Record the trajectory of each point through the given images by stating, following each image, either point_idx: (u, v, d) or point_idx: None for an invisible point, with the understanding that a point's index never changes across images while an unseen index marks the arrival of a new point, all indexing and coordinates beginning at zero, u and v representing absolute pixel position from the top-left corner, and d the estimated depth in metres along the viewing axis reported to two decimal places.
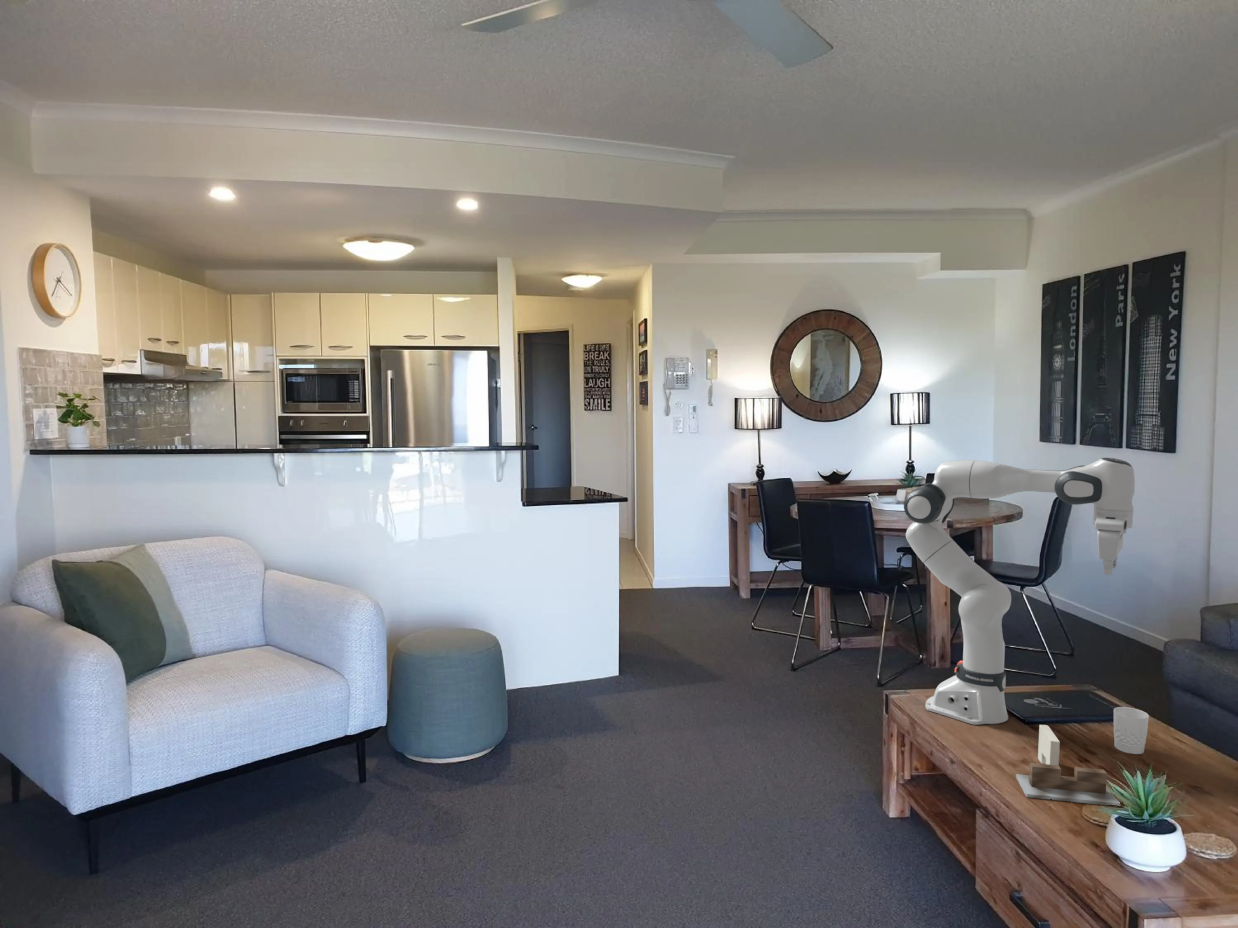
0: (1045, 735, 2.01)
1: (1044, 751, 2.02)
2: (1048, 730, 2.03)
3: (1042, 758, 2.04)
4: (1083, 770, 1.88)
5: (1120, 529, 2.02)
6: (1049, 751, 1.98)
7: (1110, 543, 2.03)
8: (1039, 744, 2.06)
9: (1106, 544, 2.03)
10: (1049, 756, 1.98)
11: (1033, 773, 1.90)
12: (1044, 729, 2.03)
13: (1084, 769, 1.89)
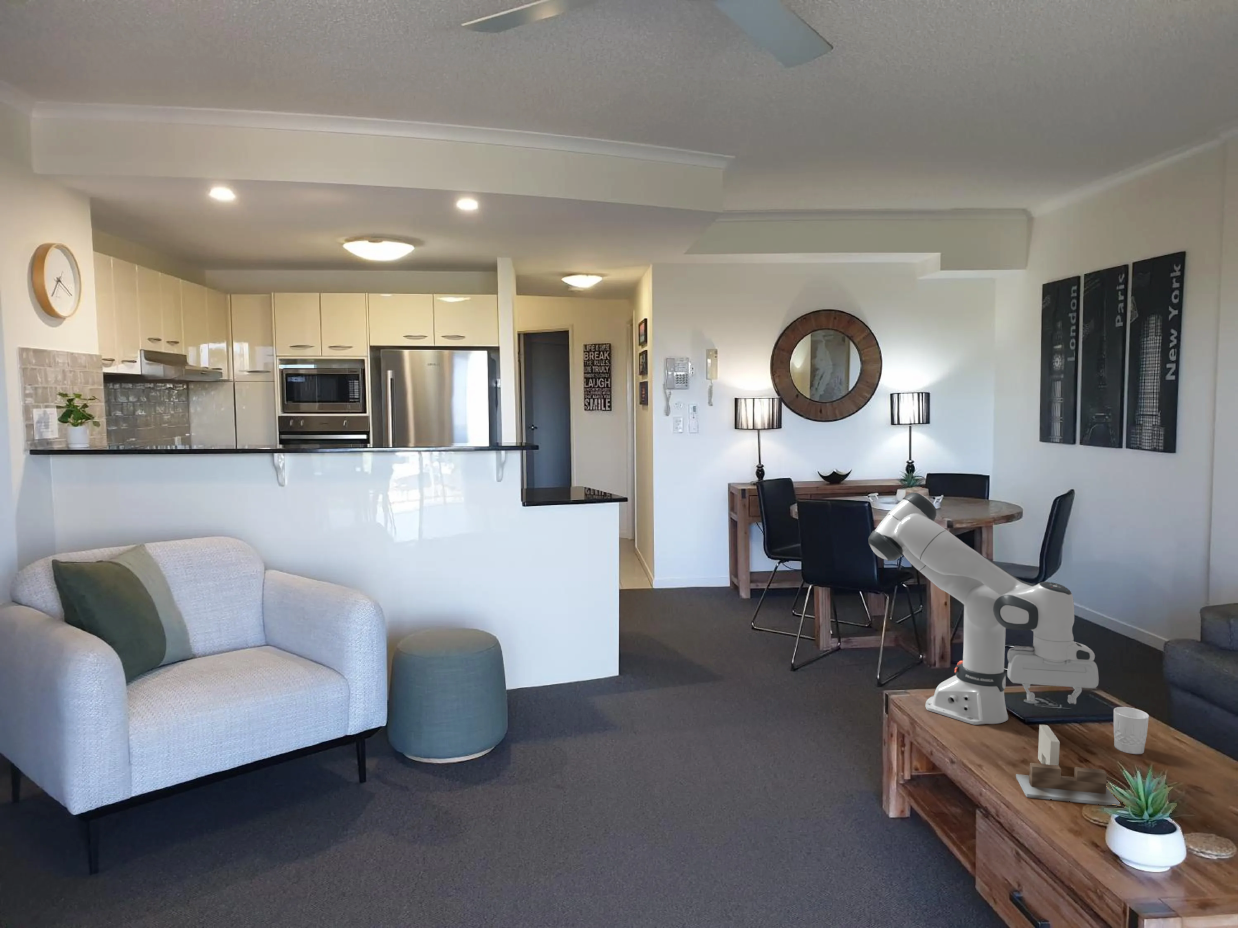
0: (1045, 735, 2.01)
1: (1044, 751, 2.02)
2: (1048, 730, 2.03)
3: (1042, 758, 2.04)
4: (1083, 770, 1.88)
5: None
6: (1049, 751, 1.98)
7: None
8: (1039, 744, 2.06)
9: None
10: (1049, 756, 1.98)
11: (1033, 773, 1.90)
12: (1044, 729, 2.03)
13: (1084, 769, 1.89)
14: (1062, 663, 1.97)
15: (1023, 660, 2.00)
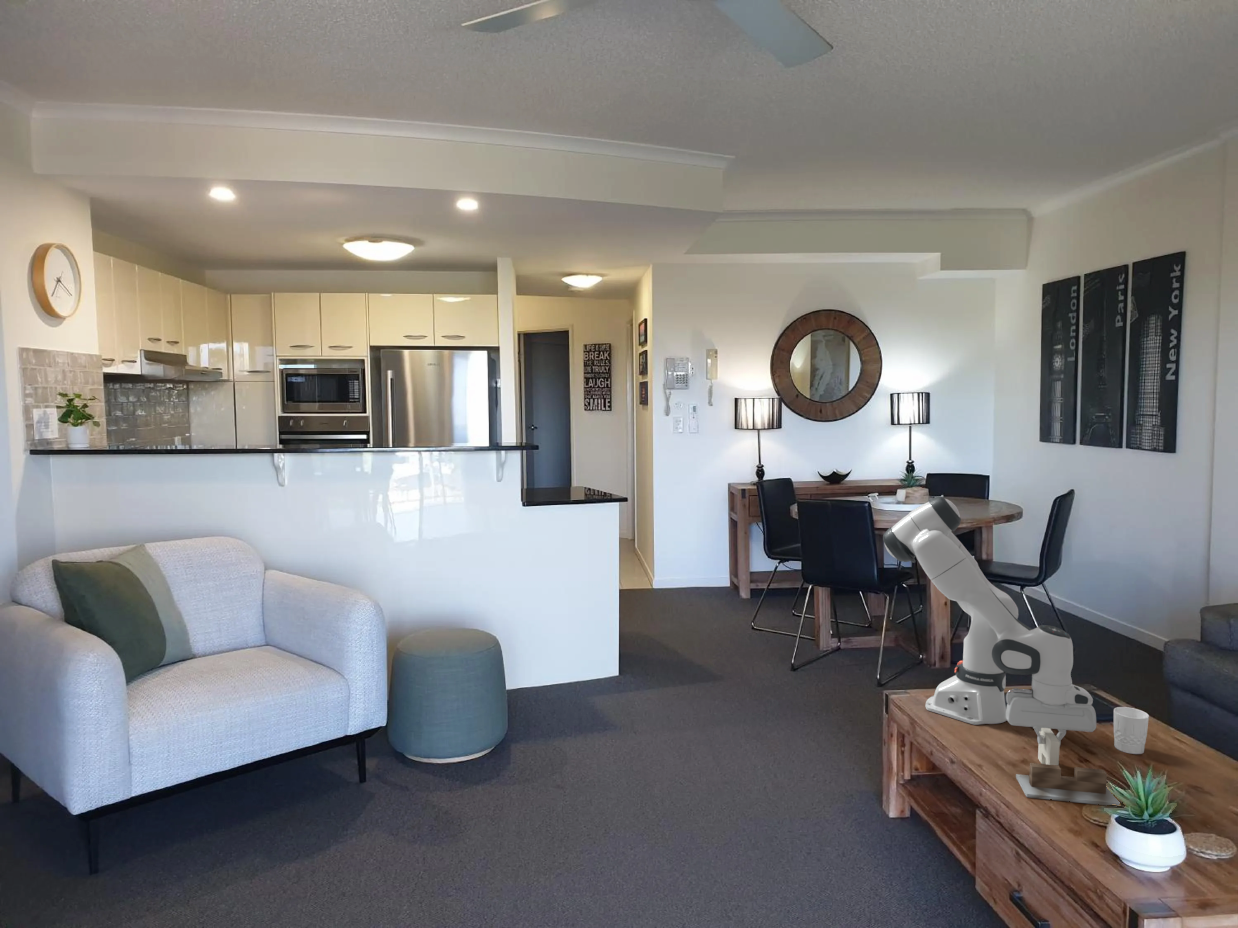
0: (1045, 735, 2.01)
1: (1044, 751, 2.02)
2: (1048, 730, 2.03)
3: (1042, 758, 2.04)
4: (1083, 770, 1.88)
5: None
6: (1049, 751, 1.98)
7: None
8: (1039, 744, 2.06)
9: None
10: (1049, 756, 1.98)
11: (1033, 773, 1.90)
12: (1044, 729, 2.03)
13: (1084, 769, 1.89)
14: (1060, 707, 1.98)
15: (1022, 703, 2.01)
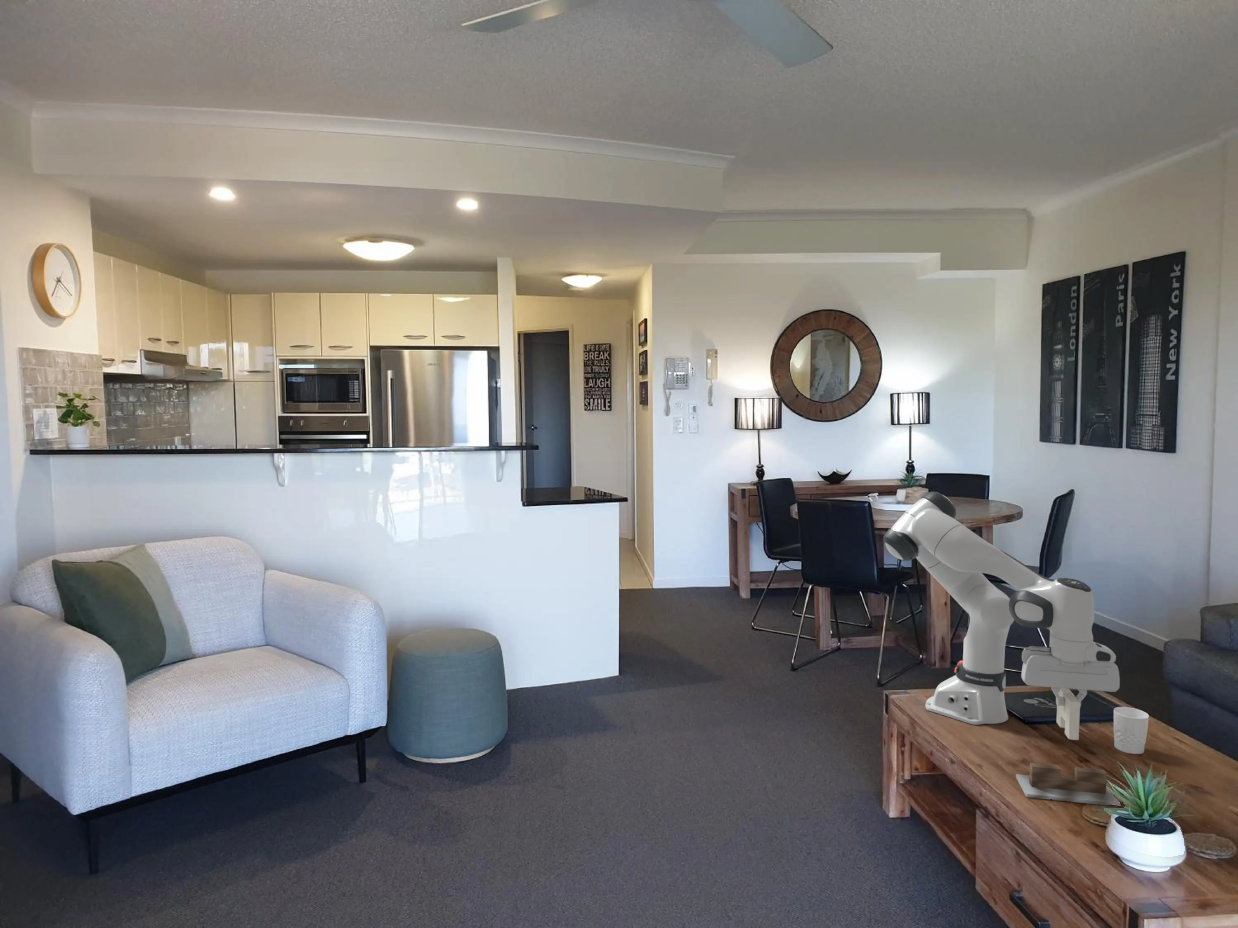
0: (1064, 696, 1.88)
1: (1063, 713, 1.88)
2: (1067, 691, 1.89)
3: (1061, 721, 1.90)
4: (1083, 770, 1.88)
5: None
6: (1069, 712, 1.84)
7: None
8: (1058, 707, 1.92)
9: None
10: (1069, 718, 1.84)
11: (1033, 773, 1.90)
12: (1063, 690, 1.90)
13: (1084, 769, 1.89)
14: (1081, 665, 1.84)
15: (1039, 661, 1.87)
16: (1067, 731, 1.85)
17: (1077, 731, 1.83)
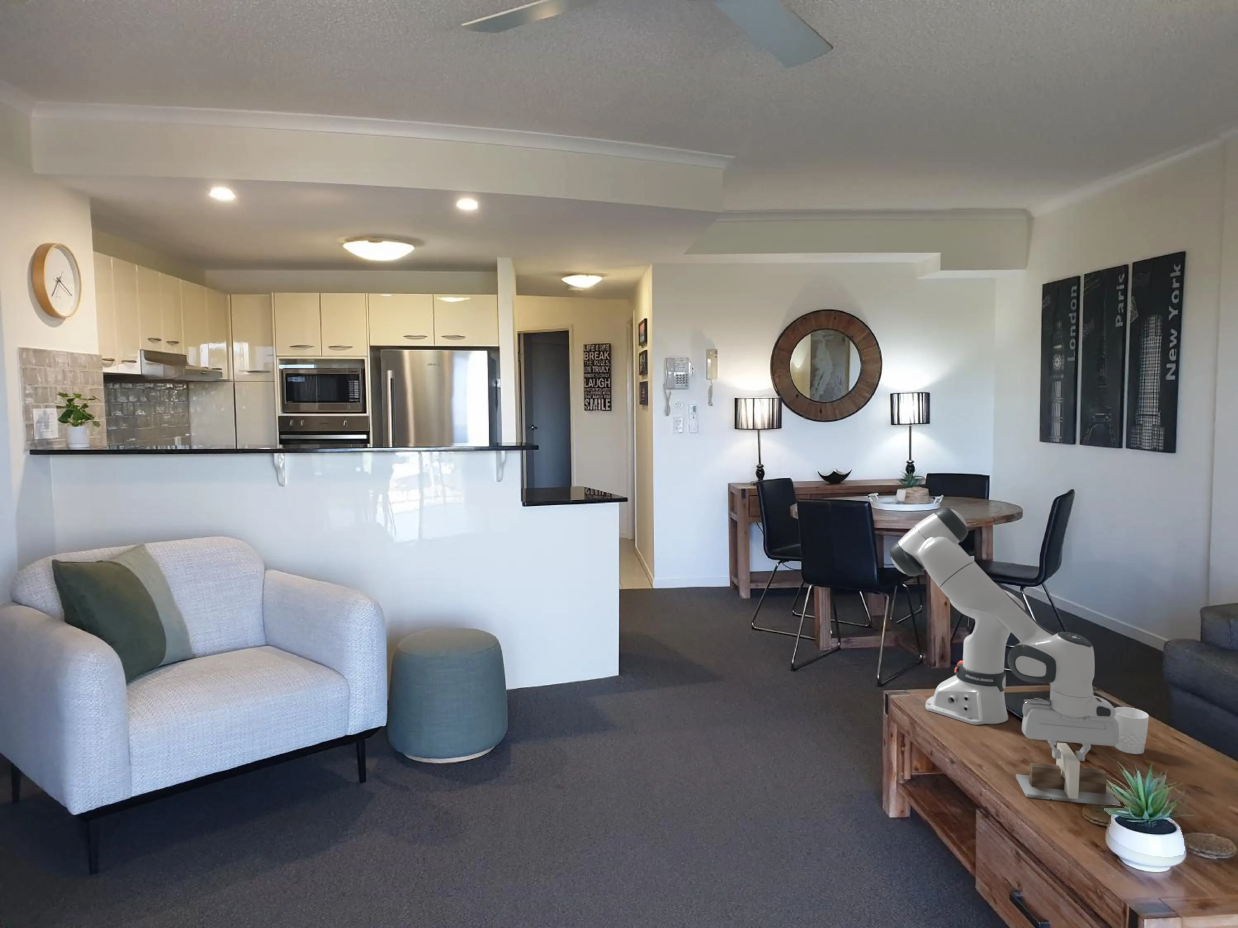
0: (1064, 754, 1.89)
1: (1063, 771, 1.89)
2: (1067, 749, 1.90)
3: None
4: (1083, 770, 1.88)
5: None
6: (1068, 771, 1.85)
7: None
8: (1057, 763, 1.94)
9: None
10: (1068, 777, 1.85)
11: (1033, 773, 1.90)
12: (1062, 747, 1.91)
13: (1084, 769, 1.89)
14: (1081, 719, 1.85)
15: (1039, 715, 1.88)
16: (1067, 790, 1.86)
17: (1077, 790, 1.85)
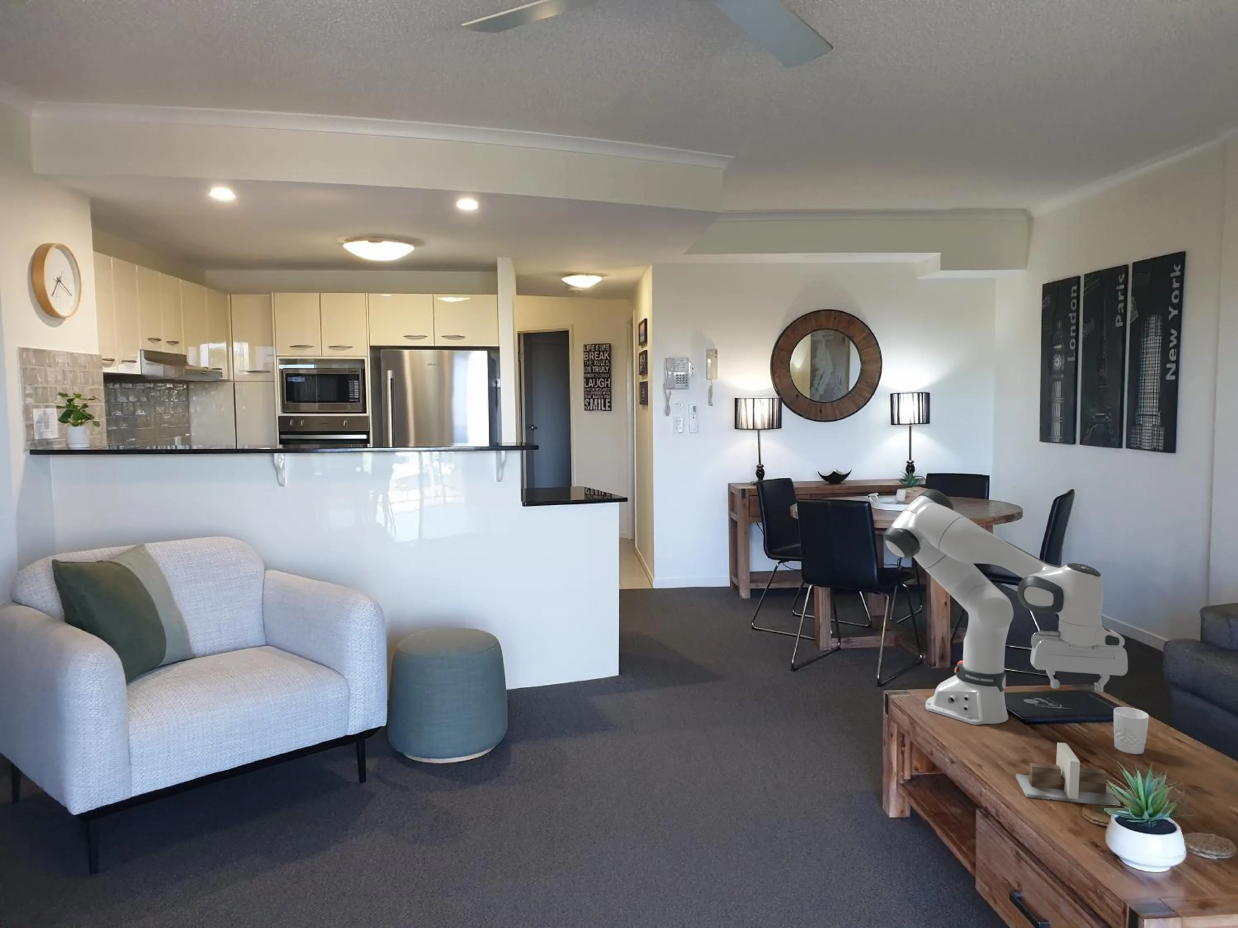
0: (1064, 754, 1.89)
1: (1063, 771, 1.89)
2: (1067, 749, 1.90)
3: None
4: (1083, 770, 1.88)
5: None
6: (1068, 771, 1.85)
7: None
8: (1057, 763, 1.94)
9: None
10: (1068, 777, 1.85)
11: (1033, 773, 1.90)
12: (1063, 747, 1.91)
13: (1084, 769, 1.89)
14: (1090, 649, 1.86)
15: (1048, 646, 1.89)
16: (1067, 790, 1.86)
17: (1077, 790, 1.85)
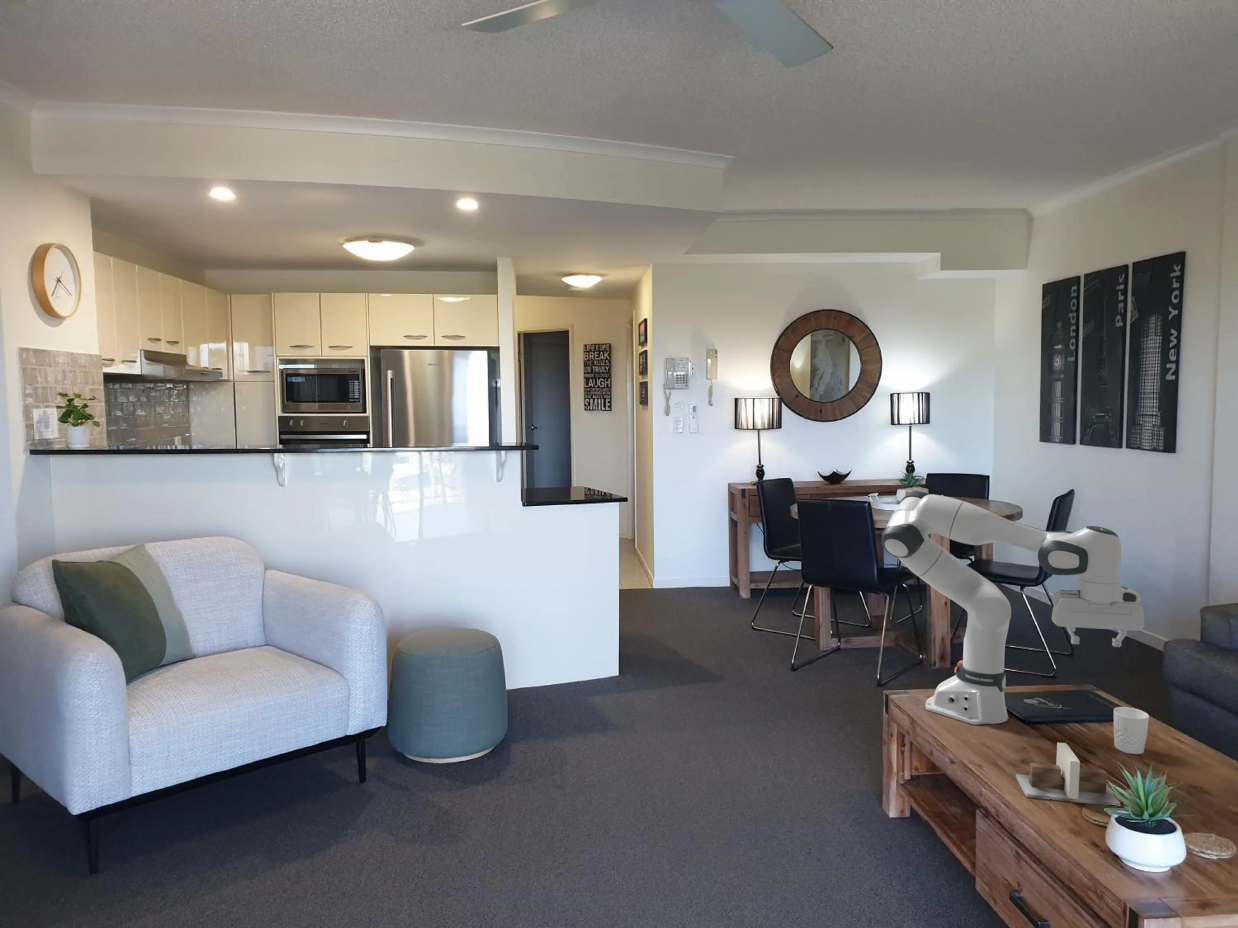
0: (1064, 754, 1.89)
1: (1063, 771, 1.89)
2: (1067, 749, 1.90)
3: None
4: (1083, 770, 1.88)
5: None
6: (1068, 771, 1.85)
7: None
8: (1057, 763, 1.94)
9: None
10: (1068, 777, 1.85)
11: (1033, 773, 1.90)
12: (1063, 747, 1.91)
13: (1084, 769, 1.89)
14: (1108, 606, 1.97)
15: (1069, 603, 2.00)
16: (1067, 790, 1.86)
17: (1077, 790, 1.85)
